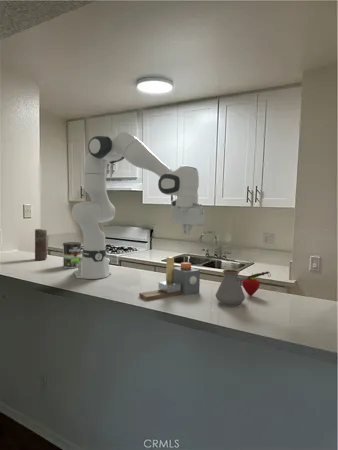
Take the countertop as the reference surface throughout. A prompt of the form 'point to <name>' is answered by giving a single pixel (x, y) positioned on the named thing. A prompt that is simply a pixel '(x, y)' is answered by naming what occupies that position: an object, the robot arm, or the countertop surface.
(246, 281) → the strawberry
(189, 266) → the button
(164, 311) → the countertop surface
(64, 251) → the coffee can
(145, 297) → the rail
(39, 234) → the candle
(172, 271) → the carriage
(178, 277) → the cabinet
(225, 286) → the coffee pot
